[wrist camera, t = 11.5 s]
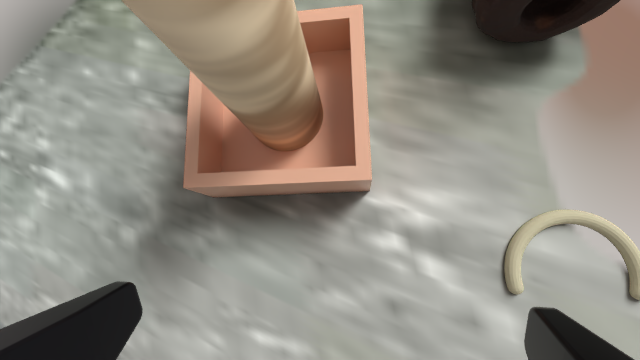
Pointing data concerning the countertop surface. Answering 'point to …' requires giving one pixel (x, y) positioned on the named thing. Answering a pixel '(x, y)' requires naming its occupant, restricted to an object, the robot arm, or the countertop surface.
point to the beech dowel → (245, 61)
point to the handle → (634, 259)
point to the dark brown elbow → (535, 17)
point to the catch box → (308, 161)
